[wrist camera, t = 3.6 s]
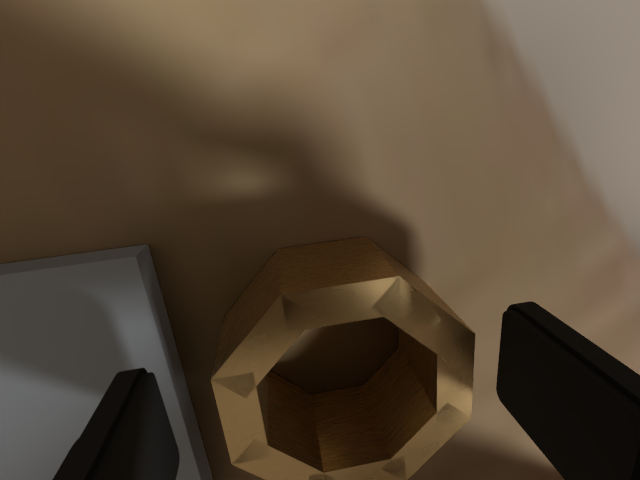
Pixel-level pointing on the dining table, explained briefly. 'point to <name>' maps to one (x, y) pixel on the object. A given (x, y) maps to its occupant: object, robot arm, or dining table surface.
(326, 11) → the dining table surface
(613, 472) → the robot arm
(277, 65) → the dining table surface
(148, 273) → the base
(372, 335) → the dining table surface
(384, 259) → the ring
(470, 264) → the dining table surface
